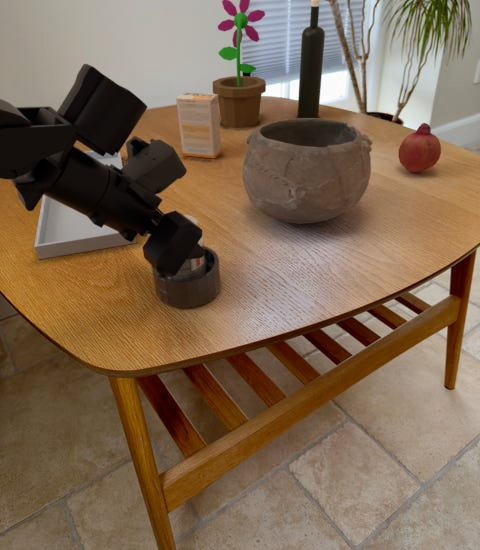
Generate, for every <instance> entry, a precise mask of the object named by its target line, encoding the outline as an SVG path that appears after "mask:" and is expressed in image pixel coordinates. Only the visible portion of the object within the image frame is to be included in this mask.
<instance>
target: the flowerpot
mask: <svg viewBox="0 0 480 550" xmlns="http://www.w3.org/2000/svg"><path fill="white" fill-rule="evenodd" d="M250 2H251V0H239V3H238V4H239V5H238V8H239V11H240V12H238V10H237V6H236V5H234V3H233V2H232V1H231V0H222V1H221V3H222V8H223V9H224V11H225V12H226V14H228V15H229V16H232V17H234V18H233V19H231V18H229V19H225V20H222V21H220V23H219V24H218V25H217V29H218V31H221V32H227V31H231V30H232V29H233V28H234V27H236V29H235V30H234V32H233V35H232V45H233V47H232V46H231V45H230V46H224V47H222V48H221V49H220V50H219V51H218V55H219V56H220V57H221V58H222V59H223V60H226V61H229V62H230V61H233V60H235V59H236V75H233V76H226V77H219V78H217V79H215V80H213V81H212V94H218V105H219V115H220V119H221V124H222V125H223V126H226V127H229V128H234V129H235V128H236V129H237V128H248V127H253V126H255V125H257V124H258V123H259V118H260V111H261V110H260V109H261V103H262V94H264V93H266V91H267V82H266V79H264V78H261V77H258V76H248V75H241V72H243V73H244V74H250V73H252V72H254V71H256V70H257V67H256V66H254V65H251V64H249V63H245V62H244V63H241V44H242V41H243V36H244V35H243V31H242V29H244V32H245V35H246V36H247V37H248V38H249V39H250V40H251V41H253V42H255V43H258V42H259V41H260V36H259V32H258V31H257V30H256V29H255V28H254V26H252V25H249V23H248V22H251V23H256V22H259V21H261V20H262V19H263V18H264V17H265V16H266V13H265V11H264V10H261V9H256V10H253V11H250V12H249V14H248V15H247V14H246V12H247V11H248V10H249V8H250V7H249V6H250Z"/></svg>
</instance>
